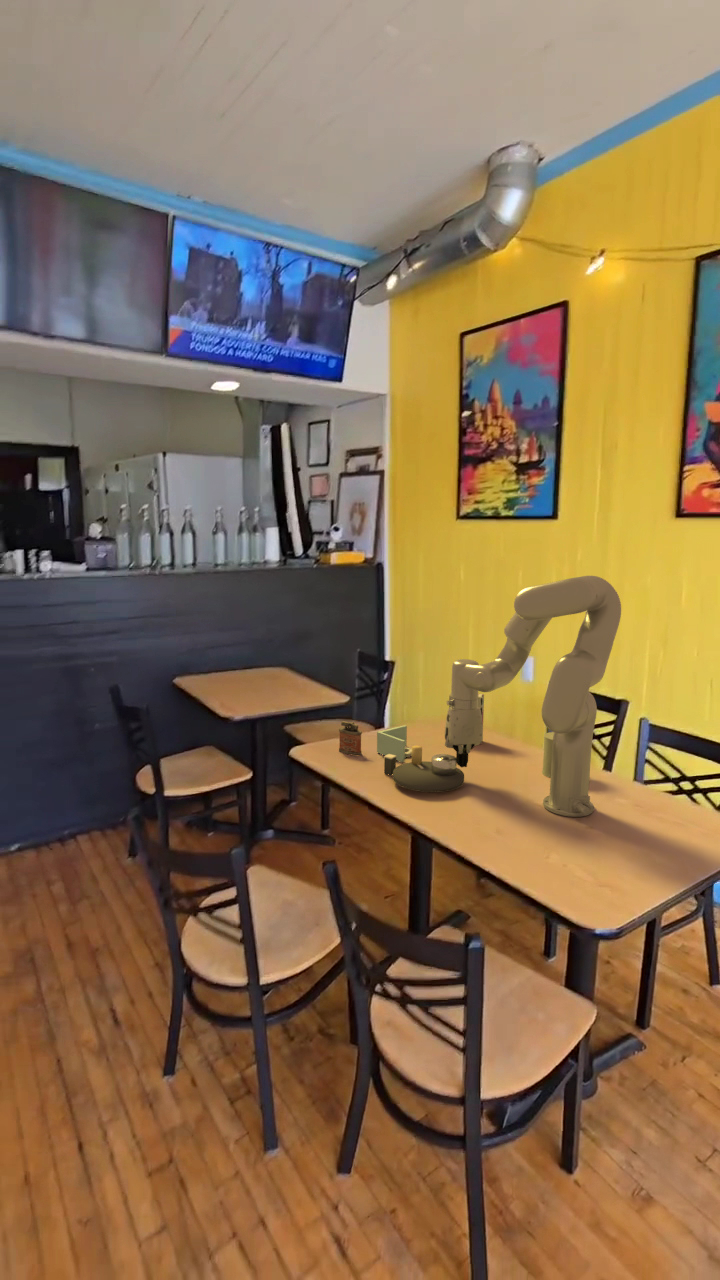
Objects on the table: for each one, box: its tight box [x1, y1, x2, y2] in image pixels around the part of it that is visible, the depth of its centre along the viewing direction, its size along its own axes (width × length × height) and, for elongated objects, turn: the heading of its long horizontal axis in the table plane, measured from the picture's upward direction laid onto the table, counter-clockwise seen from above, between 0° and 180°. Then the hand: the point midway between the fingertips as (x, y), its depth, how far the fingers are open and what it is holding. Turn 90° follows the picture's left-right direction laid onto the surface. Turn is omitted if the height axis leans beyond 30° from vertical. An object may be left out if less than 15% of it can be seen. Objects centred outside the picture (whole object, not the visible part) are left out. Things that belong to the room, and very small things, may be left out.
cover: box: [431, 753, 457, 776], centre depth 193 cm, size 7×7×4 cm
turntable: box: [392, 745, 465, 793], centre depth 192 cm, size 20×20×6 cm
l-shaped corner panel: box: [376, 724, 412, 763], centre depth 217 cm, size 12×12×8 cm
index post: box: [383, 754, 397, 776], centre depth 200 cm, size 3×3×5 cm
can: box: [541, 731, 554, 779], centre depth 201 cm, size 9×9×12 cm
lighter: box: [338, 720, 363, 756], centre depth 218 cm, size 8×3×10 cm, turn 58°
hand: (461, 765), depth 195 cm, fingers closed
